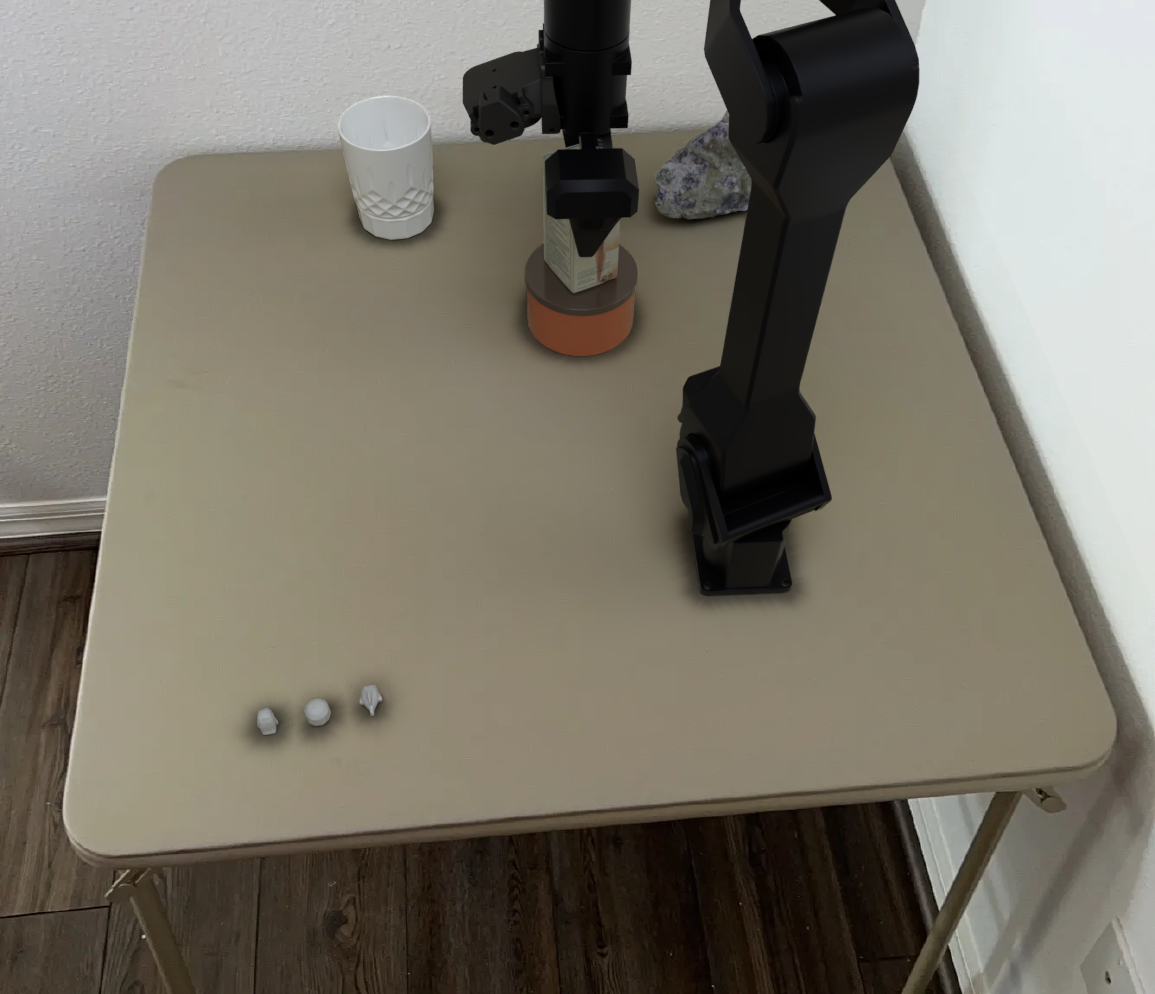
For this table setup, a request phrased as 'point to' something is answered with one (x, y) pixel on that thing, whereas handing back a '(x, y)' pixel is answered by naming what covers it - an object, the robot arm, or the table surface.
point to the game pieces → (318, 710)
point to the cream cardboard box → (565, 255)
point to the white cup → (389, 164)
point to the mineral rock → (704, 178)
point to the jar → (580, 308)
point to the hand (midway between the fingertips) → (582, 216)
